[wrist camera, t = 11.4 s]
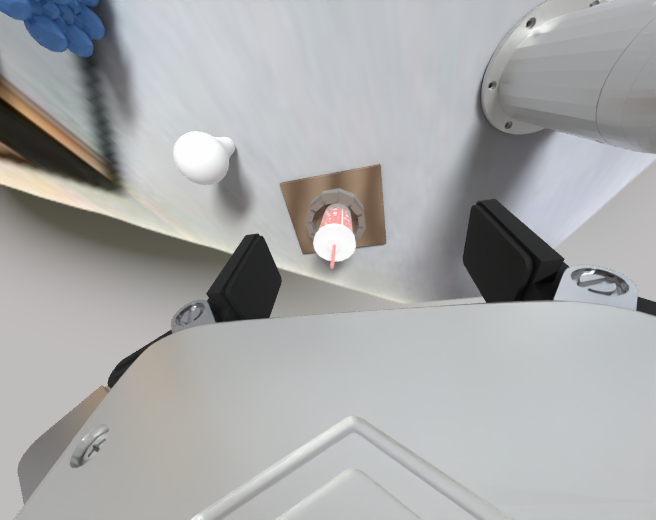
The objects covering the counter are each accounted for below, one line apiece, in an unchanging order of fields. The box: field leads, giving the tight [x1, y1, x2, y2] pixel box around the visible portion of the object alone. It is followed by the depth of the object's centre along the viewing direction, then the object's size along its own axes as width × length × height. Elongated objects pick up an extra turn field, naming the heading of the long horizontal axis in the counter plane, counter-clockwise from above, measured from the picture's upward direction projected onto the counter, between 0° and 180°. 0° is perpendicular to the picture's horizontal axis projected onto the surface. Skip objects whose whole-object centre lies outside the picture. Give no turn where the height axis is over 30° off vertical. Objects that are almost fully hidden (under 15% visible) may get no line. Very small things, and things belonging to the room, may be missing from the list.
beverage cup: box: [313, 203, 356, 269], centre depth 35 cm, size 6×6×14 cm
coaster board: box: [280, 164, 386, 254], centre depth 40 cm, size 16×14×4 cm
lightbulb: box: [173, 131, 235, 185], centre depth 31 cm, size 6×6×11 cm
